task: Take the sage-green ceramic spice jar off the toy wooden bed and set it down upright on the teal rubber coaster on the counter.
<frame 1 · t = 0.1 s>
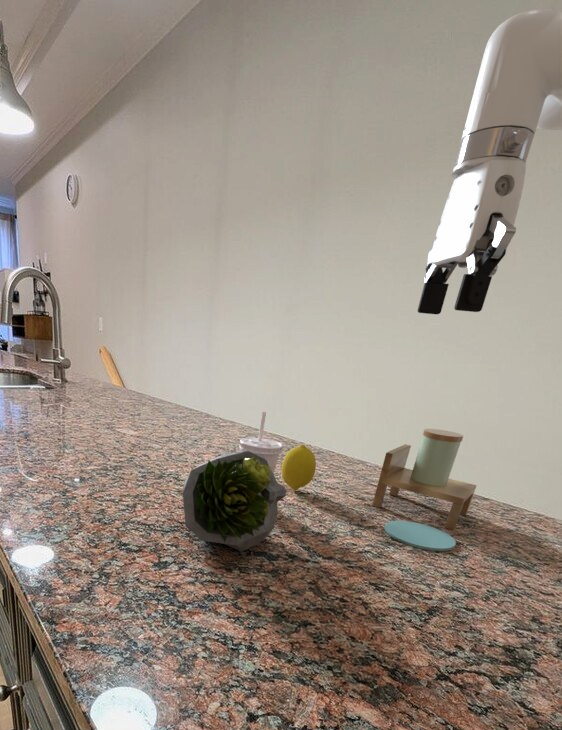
hand: (446, 312, 61), 29 cm above the table, tool pointing down, fingers open, 9 cm apart
spice jar: (428, 480, 71), point 5 cm above the table, touching toy wooden bed
lemon: (293, 491, 77), on the table
coaster: (418, 536, 63), on the table
toy wooden bed: (419, 509, 73), on the table
potted plant: (231, 544, 56), on the table
smoothie: (251, 504, 69), on the table
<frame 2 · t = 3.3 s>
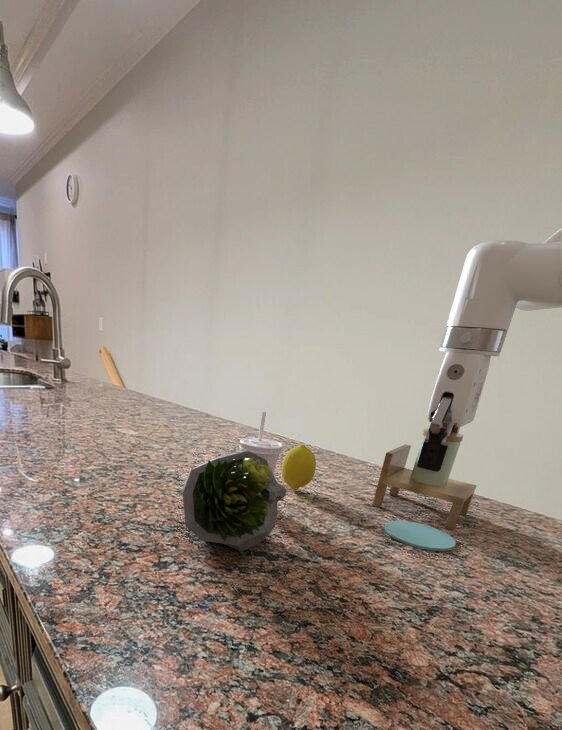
hand: (433, 464, 70), 8 cm above the table, tool pointing down, fingers closed on spice jar, 5 cm apart
spice jar: (428, 480, 71), point 5 cm above the table, touching gripper, toy wooden bed
everything else where it was.
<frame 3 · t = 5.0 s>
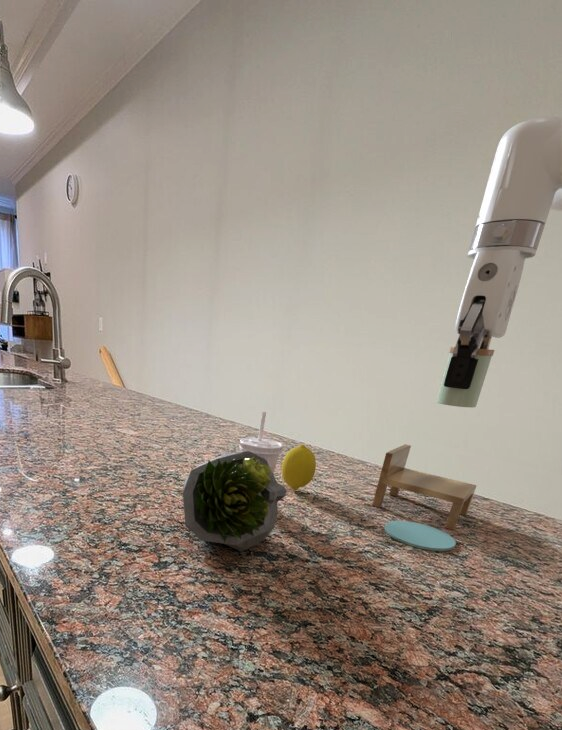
hand: (461, 385, 65), 20 cm above the table, tool pointing down, fingers closed on spice jar, 5 cm apart
spice jar: (455, 404, 66), point 17 cm above the table, touching gripper
everything else where it was.
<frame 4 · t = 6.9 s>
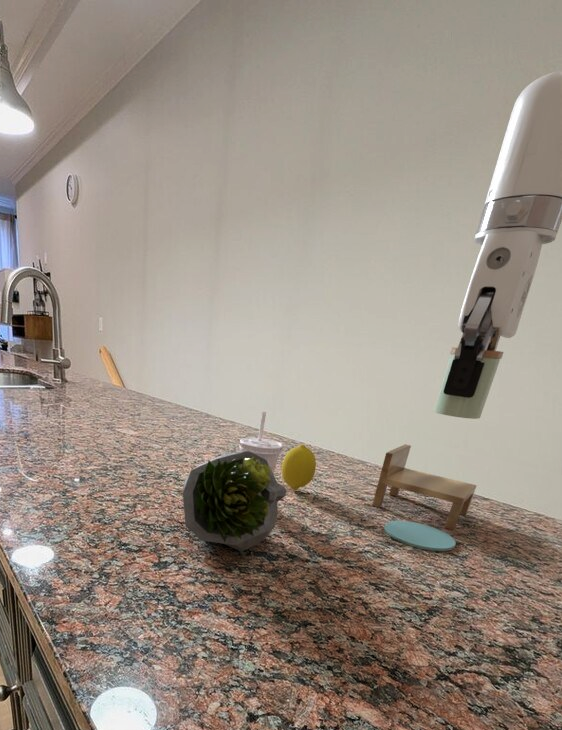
hand: (463, 393, 56), 20 cm above the table, tool pointing down, fingers closed on spice jar, 5 cm apart
spice jar: (456, 414, 57), point 17 cm above the table, touching gripper
everything else where it was.
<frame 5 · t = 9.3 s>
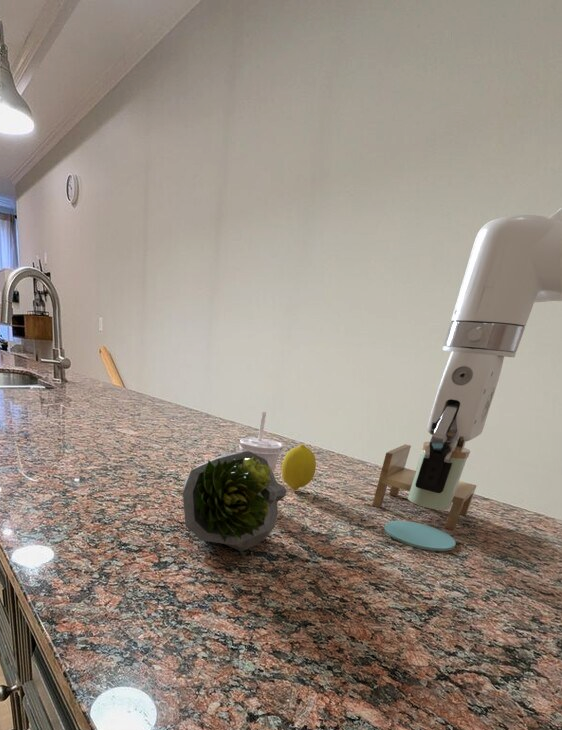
hand: (434, 484, 60), 8 cm above the table, tool pointing down, fingers closed on spice jar, 5 cm apart
spice jar: (428, 502, 61), point 5 cm above the table, touching gripper
everything else where it was.
when the fingers open (3 cm above the table, at t = 10.9 s): spice jar stays where it is, resting on coaster.
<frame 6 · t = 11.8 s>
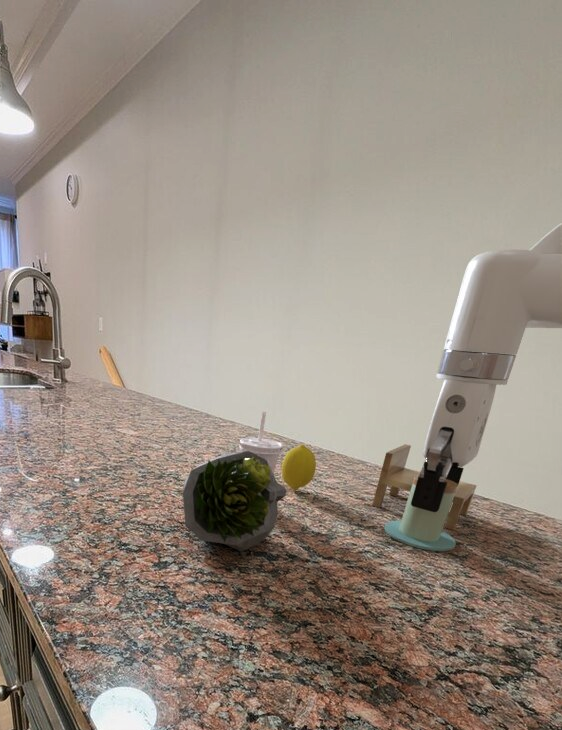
hand: (433, 500, 61), 5 cm above the table, tool pointing down, fingers open, 9 cm apart
spice jar: (418, 533, 63), resting on coaster
everything else where it was.
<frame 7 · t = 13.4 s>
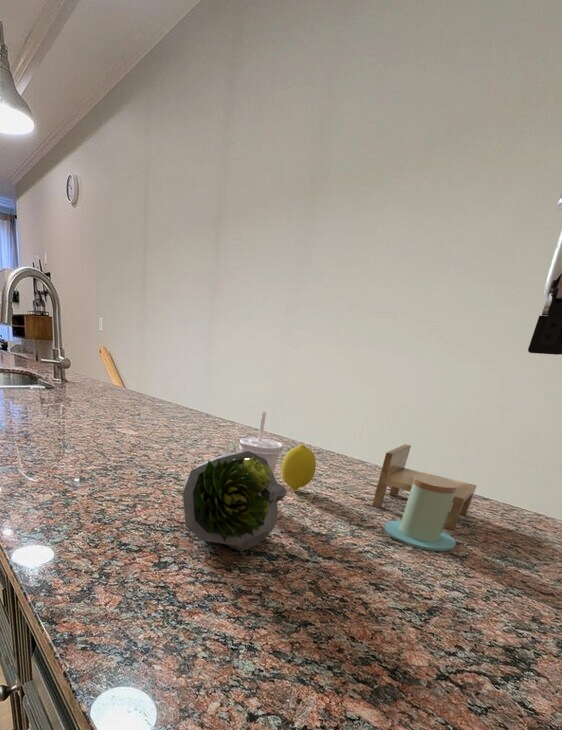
hand: (546, 353, 55), 25 cm above the table, tool pointing down, fingers open, 9 cm apart
nothing on the table moved.
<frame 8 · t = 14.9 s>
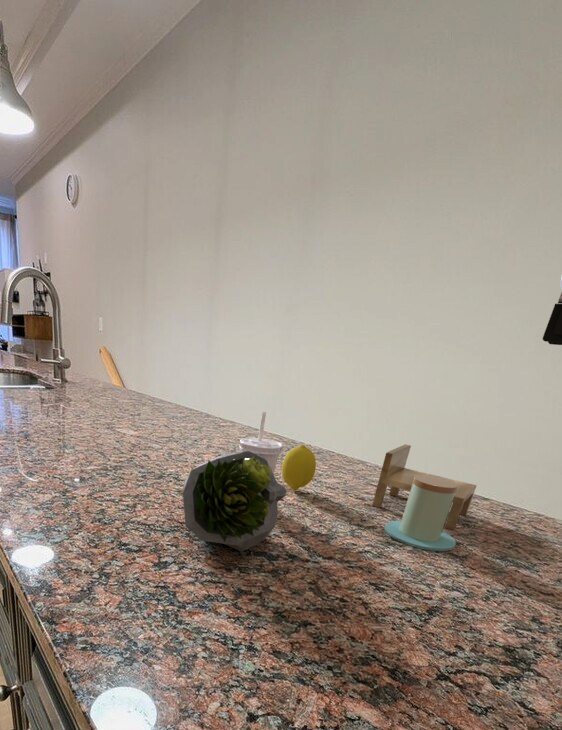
hand: (560, 343, 55), 26 cm above the table, tool pointing down, fingers open, 9 cm apart
nothing on the table moved.
at the end: spice jar inside the target area on the coaster (0.1 cm from its centre), point 0.4 cm above the coaster's base; spice jar tilted 0°; spice jar touching coaster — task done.
